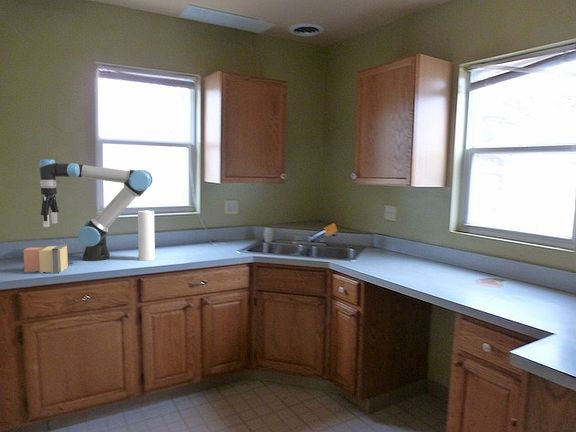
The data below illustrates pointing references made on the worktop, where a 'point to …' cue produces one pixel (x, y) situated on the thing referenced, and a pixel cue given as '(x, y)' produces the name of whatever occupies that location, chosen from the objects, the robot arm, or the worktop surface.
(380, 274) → the worktop surface
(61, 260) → the block
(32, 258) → the stub
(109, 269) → the worktop surface
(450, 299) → the worktop surface
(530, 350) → the worktop surface
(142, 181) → the robot arm
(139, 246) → the cylinder container
